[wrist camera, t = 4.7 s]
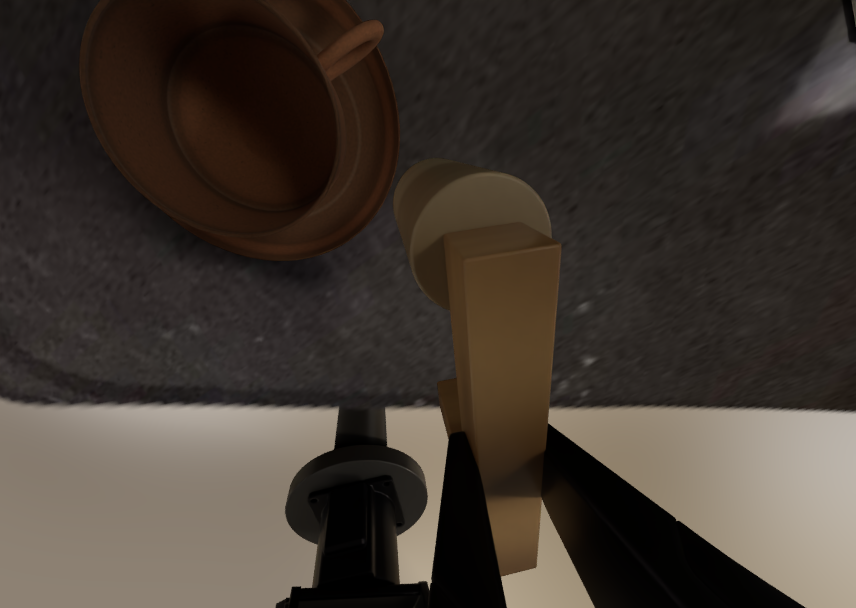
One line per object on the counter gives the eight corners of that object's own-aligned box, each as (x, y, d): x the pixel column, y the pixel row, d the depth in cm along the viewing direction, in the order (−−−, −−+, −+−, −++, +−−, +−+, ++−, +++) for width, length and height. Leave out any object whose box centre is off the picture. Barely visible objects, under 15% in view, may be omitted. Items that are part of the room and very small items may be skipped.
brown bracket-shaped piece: (485, 397, 16) (559, 562, 10) (425, 409, 16) (462, 587, 9) (474, 152, 11) (615, 166, 5) (385, 164, 11) (407, 198, 4)
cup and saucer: (199, -134, 12) (54, -369, 6) (444, 113, 17) (480, 98, 11) (82, 148, 15) (-85, 152, 9) (316, 288, 20) (296, 345, 14)
